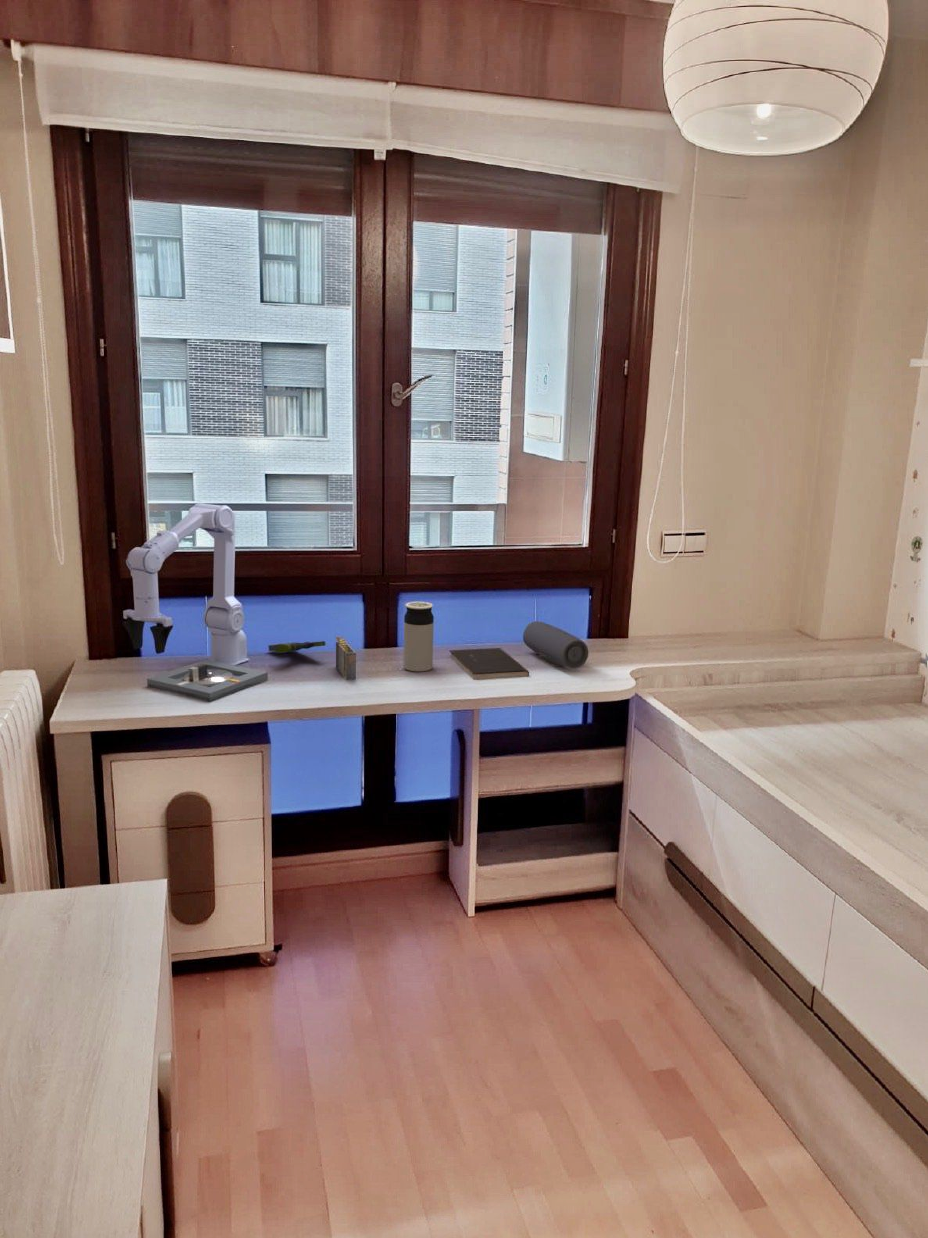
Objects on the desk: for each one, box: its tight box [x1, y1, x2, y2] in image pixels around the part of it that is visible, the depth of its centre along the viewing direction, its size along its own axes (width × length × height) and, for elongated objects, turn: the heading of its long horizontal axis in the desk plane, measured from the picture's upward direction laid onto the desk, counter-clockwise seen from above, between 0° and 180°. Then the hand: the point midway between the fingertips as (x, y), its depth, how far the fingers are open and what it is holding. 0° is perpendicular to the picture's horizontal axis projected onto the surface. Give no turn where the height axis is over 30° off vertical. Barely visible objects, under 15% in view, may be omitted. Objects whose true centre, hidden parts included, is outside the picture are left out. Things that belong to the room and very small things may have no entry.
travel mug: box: [403, 601, 435, 673], centre depth 259 cm, size 8×8×18 cm
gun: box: [267, 640, 327, 654], centre depth 264 cm, size 2×19×15 cm
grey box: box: [334, 635, 357, 680], centre depth 253 cm, size 11×3×10 cm, turn 21°
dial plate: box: [146, 658, 269, 703], centre depth 242 cm, size 21×21×2 cm
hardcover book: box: [449, 647, 530, 680], centre depth 265 cm, size 16×23×2 cm
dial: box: [184, 664, 233, 687], centre depth 241 cm, size 12×12×4 cm
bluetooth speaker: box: [522, 620, 589, 670], centre depth 270 cm, size 23×9×10 cm, turn 25°
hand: (149, 650), depth 234 cm, fingers open, 7 cm apart
